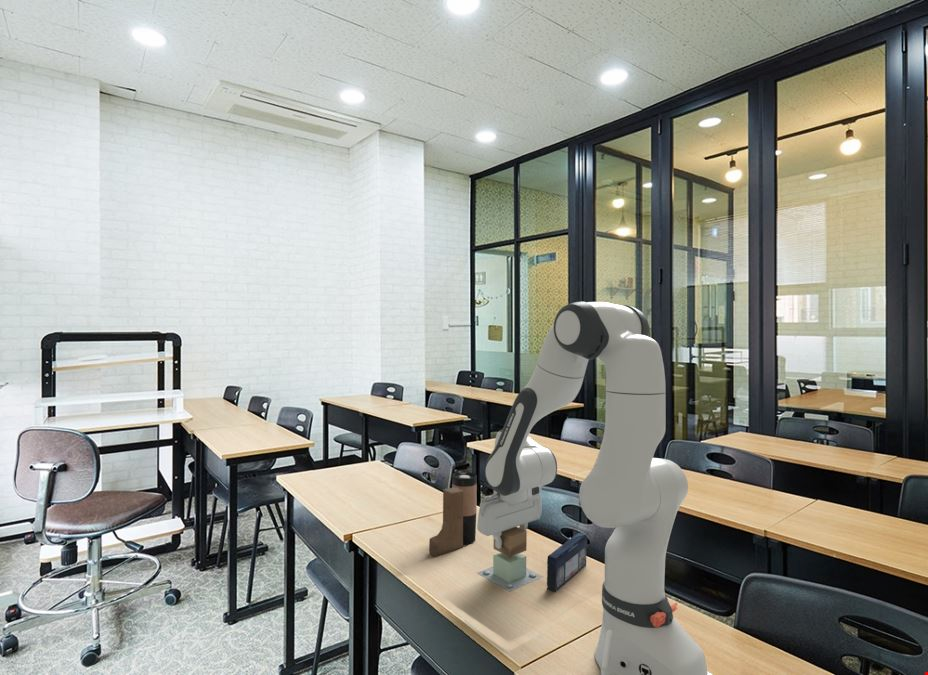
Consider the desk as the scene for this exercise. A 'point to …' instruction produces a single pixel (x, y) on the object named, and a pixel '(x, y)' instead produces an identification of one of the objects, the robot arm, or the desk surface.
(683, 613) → the desk surface
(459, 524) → the wooden block
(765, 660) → the desk surface
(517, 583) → the base plate
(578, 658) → the desk surface
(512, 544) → the walnut brick
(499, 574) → the green brick
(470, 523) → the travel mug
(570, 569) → the vhs cassette tape
